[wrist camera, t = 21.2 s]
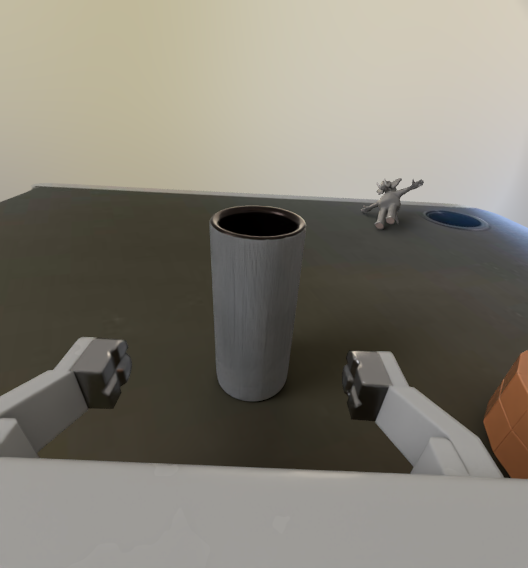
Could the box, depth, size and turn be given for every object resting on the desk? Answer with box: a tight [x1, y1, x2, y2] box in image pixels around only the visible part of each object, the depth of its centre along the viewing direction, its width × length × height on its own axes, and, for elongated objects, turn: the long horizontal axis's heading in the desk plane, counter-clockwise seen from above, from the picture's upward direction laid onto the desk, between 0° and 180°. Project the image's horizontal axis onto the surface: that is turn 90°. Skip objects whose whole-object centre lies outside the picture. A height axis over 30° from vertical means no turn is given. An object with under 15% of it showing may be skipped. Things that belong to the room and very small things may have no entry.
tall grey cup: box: [210, 206, 306, 401], centre depth 17 cm, size 4×4×10 cm
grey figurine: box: [361, 178, 424, 229], centre depth 45 cm, size 10×6×9 cm
